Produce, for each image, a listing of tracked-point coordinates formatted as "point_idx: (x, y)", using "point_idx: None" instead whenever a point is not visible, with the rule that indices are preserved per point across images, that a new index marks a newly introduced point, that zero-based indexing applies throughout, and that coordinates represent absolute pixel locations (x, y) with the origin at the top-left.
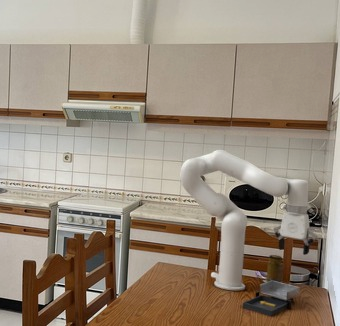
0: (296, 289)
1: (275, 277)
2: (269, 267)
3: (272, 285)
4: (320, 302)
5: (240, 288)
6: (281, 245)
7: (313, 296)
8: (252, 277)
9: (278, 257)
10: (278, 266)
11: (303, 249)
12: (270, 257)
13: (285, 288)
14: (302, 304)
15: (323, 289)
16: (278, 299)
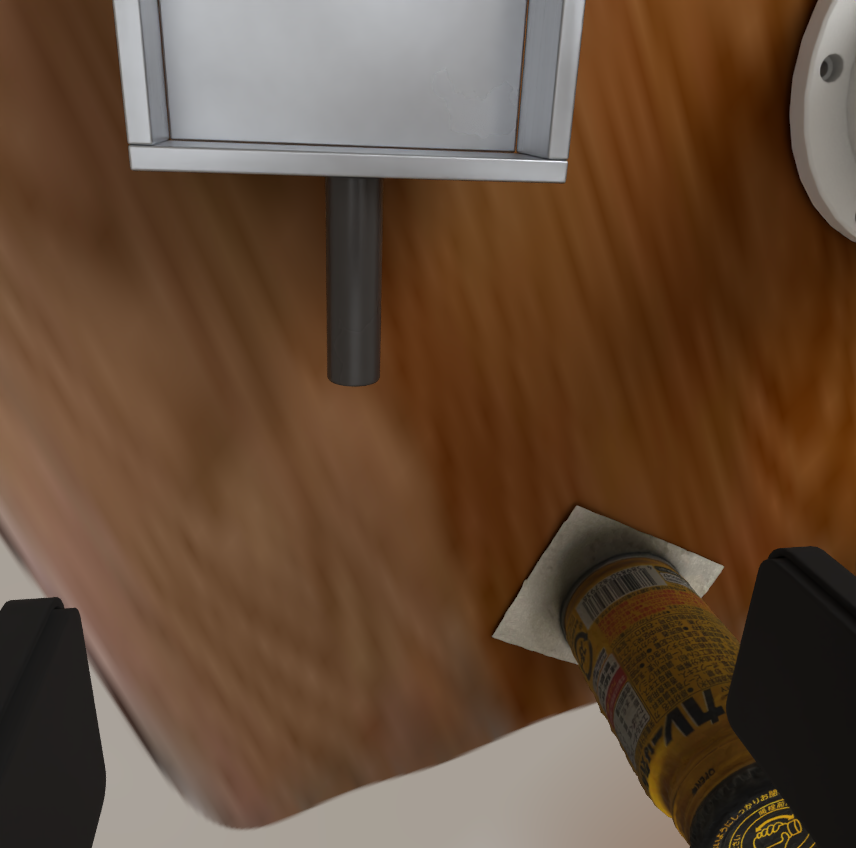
0: (118, 32)
1: (623, 606)
2: None
3: (522, 155)
4: (22, 401)
5: (831, 4)
6: (849, 643)
7: (179, 536)
8: None
9: (734, 817)
10: (662, 709)
11: (24, 723)
12: None
13: (338, 148)
14: (101, 132)
15: (228, 804)
16: None
